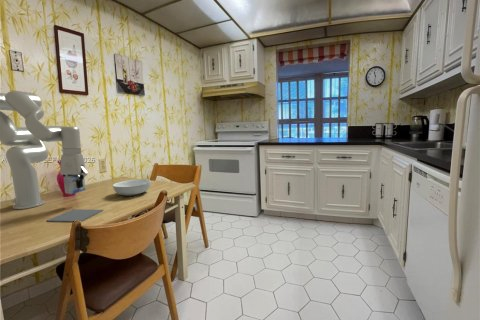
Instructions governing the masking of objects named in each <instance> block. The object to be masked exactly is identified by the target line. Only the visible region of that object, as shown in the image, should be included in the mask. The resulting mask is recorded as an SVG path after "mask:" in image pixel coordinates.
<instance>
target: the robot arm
mask: <svg viewBox="0 0 480 320" xmlns="http://www.w3.org/2000/svg"><path fill="white" fill-rule="evenodd" d="M42 104H43V102H42V99H41V97H40V96H39V95H38V94H36V93H32V92H27V91H20V90H11V91H8V92H7V93H4V92H0V142H1V144H2V145H4V146H8V147H9V148H8V149H7V150H6V152H5V158H6V161H7V163H8V165H9V167H10V171H11V178H12V183H13V190H14V196H15V197H14V199H12V200H11V203H15V204H14V205H13V206H12V209H14V210H24V209H25V210H26V209H32V208H36V207H39V206H42V205H44V204H46V203H45V200H43V199H41V194H40V193H41V192H40V186H39V179H38V178H39V177H38V173H37V170H36V168H35V167H34V166H33V164H34V163H40V162H44V161H46V160H47V159H48V158H49V151H48V149H47V147H46V145H45V144H44V143H47V142H48V143H50V142H51V143H52V142H61V148H62V149H61V152H62V154H61V155H60V172H59V174H60V175H61V176H62V177H63V178H64V177H65V176H70V175H76V177H77V181H76V183H77V188H81V187H83V179H85V177H86V176H88V174H89V173H88V171H87V170H86V164H85V160H84V156H83V154H82V145H81V144H82V143H81V135H80V129H79V127H77V126H61V125H45V124H43V122H41V121H40V120H41V119H43V117H44V115H45V111H44V109H43V108H41V107H42ZM1 110H2V111H14V112H17V113H18V114H19V115H20V116H21V117H22V118H24V119H25V120H24V123H25V127H23V126H21V127H19V126H16V125H15V124H14V122H13V120H12V119H11V118H10V117H9V115H7V114H6V113H5V112H2V111H1ZM79 175H80V177H79Z"/></svg>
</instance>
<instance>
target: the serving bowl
mask: <svg viewBox="0 0 480 320" xmlns="http://www.w3.org/2000/svg"><path fill="white" fill-rule="evenodd" d="M151 183H152V181H151V180H150V179H140V178H139V179H130V180H124V181H119V182H115V183H114V184H112V188H113V191H114V192H115V193H116V194H117V195H120V196H127V197H128V196H129V197H132V196H137V195H140V194H142V193H145V192H147V191H148V190H149V188H150V187H151Z"/></svg>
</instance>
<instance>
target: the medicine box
mask: <svg viewBox="0 0 480 320" xmlns="http://www.w3.org/2000/svg"><path fill="white" fill-rule="evenodd" d="M79 177H80V175H79ZM85 179H86V178H84V179H83V187H81V188H77V183H76V181H77V177H76V175H70V176H65V177H63V184H64V193H65V194H69V195H74V194H77V193H80V192H83V191H86V183H85Z"/></svg>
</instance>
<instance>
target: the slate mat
mask: <svg viewBox="0 0 480 320" xmlns="http://www.w3.org/2000/svg"><path fill="white" fill-rule="evenodd" d="M102 212H104V209H79V208H78V209H77V208H75V209H73V208H72V209H71V210H68V211H65V212H64V213H61V214H59V215H56V216H53V217H51V218H49V219H46V220H45V221H46V222H51V223H53V222H54V223H55V222H56V223H74V222H73V221H75V220H79V221H81V222H80V223H82V222H84V221H86V220H88V219H90V218H92V217H94V216H95V215H98V214H100V213H102Z"/></svg>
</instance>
